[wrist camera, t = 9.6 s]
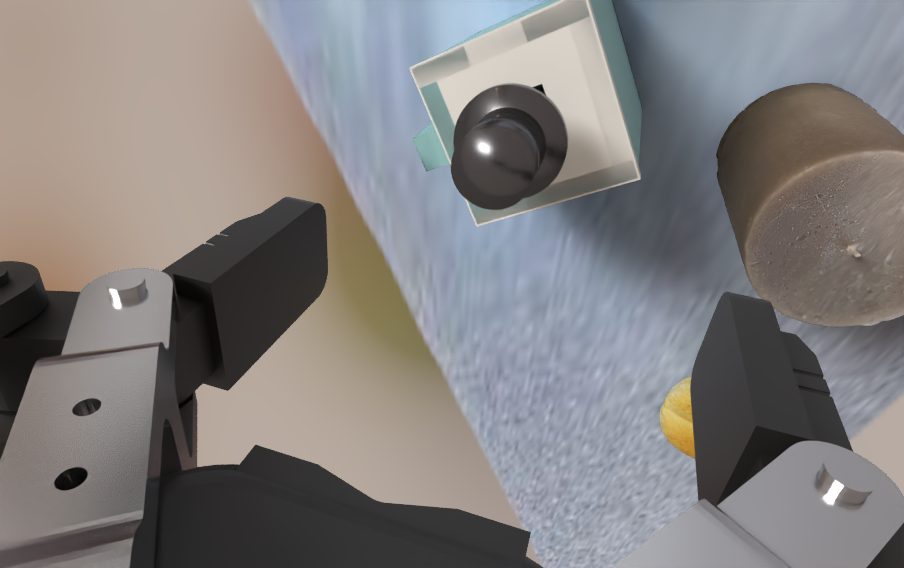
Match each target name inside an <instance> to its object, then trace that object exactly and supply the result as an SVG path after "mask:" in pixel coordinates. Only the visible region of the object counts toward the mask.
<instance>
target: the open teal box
mask: <svg viewBox="0 0 904 568" xmlns="http://www.w3.org/2000/svg"><path fill="white" fill-rule="evenodd" d="M409 69H410V71H411V74H412V76H413V78H414V81H415V83H416V85H417V88H418V90H419V92H420V95H421V97H422V99H423V102H424V104H425V106H426V109H427V111H428V113H429V116H430V118H431V121H432V123H431V124H430V125H429V126H427V127H426V128H425V129H424V130H423V131H422V132H420V133H419V134H418V135H417V136H416V137H414V138H413V139H412V140H413V142H414V145H415V147H416V149H417V151H418V154H419V156H420V158H421V160H422V163H423V165H424V167H425V169H426V171H429V170H432V169H435V168H438V167H441V166H443V165H446V164H449V163H450V165H451V160H452V156H453V153H454V144H453V139H454V130H455V126H456V122H457V120H458V118H459V115H460V113H461V112H462V110H463V109H464V107H465V106H466V105H467V104H468V103H469V102H470V101H471V100H472V99H473V98H474V97H475V96H476V95H478V94H479V93H481V92H482V91H484V90H485V89H488V88H490V87H492V86H495V85H499V84H505V83H516V84H523V85H527V86H530V87H535V86H537V85H540V84H542V85H543V88H544V91H545V94H546V96H547V97H549V98H550V99H551V100H552V101H553V102H554V104H555V105H556V106H557V108H558V109H559V110H560V112H561V114H562V116H563V118H564V121H565V123H566V127H567V131H568V150H567V155H566V158H565V161H564V164H563V166H562V168H561V171H560V172H559V174H558V176H557V177H556V178H555V180H554V181H553V182H552V183H551V184H550V185H549V186H548V187H547V188H545V189H544V190H542V191H541V192H539V193H537V194H535V195H533V196H530V197H527V198H523V199H521V200H520V201H519V202H518V203H517V204H515V205H513V206H511V207H509V208H506V209H501V210H489V209H484V208H480V207H478V206H476V205H474V204H472V203H471V202H469V201H468V200H467V199H465V200H466V203H467V205H468V207H469V210H470V212H471V215H472V217H473V219H474V222H475V224H476V226H480V225H484V224H487V223H491V222H494V221H498V220H501V219H505V218H508V217H512V216H515V215H518V214H522V213H525V212H529V211H532V210H536V209H539V208H543V207H546V206H550V205H553V204H557V203H560V202H564V201H567V200H571V199H574V198H578V197H581V196H585V195H588V194H592V193H595V192H599V191H602V190H606V189H609V188H613V187H616V186H620V185H623V184H627V183H630V182H634V181H637V180H641V172H640V169H639V156H640V139H641V122H642V106H641V103H640V99H639V96H638V92H637V88H636V85H635V81H634V78H633V74H632V70H631V67H630V63H629V60H628V56H627V53H626V49H625V45H624V42H623V38H622V35H621V31H620V27H619V24H618V20H617V17H616V13H615V10H614V6H613V2H612V0H549V1H547V2H544V3H542V4H540V5H538V6H536V7H533V8H531V9H529V10H527V11H524V12H522V13H520V14H518V15H516V16H513V17H511V18H509V19H507V20H504V21H502V22H500V23H498V24H496V25H493V26H491V27H489V28H487V29H484V30H482V31H480V32H478V33H476V34H475V35H473V36H471V37H469V38H467V39H465V40H464V41H462V42H460V43H458V44H456V45H455V46H453V47H451V48H449V49H447V50H446V51H444V52H442V53H440V54H438V55H436V56H434V57H432V58H430V59H427V60H425V61H423V62H421V63H419V64H416V65H414V66H412V67H410V68H409Z"/></svg>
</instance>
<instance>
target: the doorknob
mask: <svg viewBox="0 0 904 568" xmlns="http://www.w3.org/2000/svg"><path fill="white" fill-rule="evenodd" d="M453 144H454V153H453V156H452V160H451V174H452V178H453V181H454V184H455V186H456V188H457V189H458V191H459V192H460V193H461V194H462V196H463V197H464V198H465V199H467V200H468V201H469V202H471V203H472V204H474V205H476V206H478V207H480V208H484V209H489V210H501V209H506V208H509V207H511V206H513V205H515V204H517V203H518V202H519V201H520V200H521V199H523V198H527V197H530V196H533V195H535V194H537V193H539V192H541V191H542V190H544V189H545V188H547V187H548V186H549V185H550V184H551V183H552V182H553V181H554V180H555V178H556V177H557V176H558V174H559V172H560V171H561V168H562V166H563V164H564V161H565V158H566V155H567V150H568V131H567V127H566V123H565V121H564V118H563V116H562V114H561V112H560V110H559V109H558V108H557V106H556V105H555V104H554V102H553V101H552V100H551V99H550V98H549V97H547V96H546V94H545V91H544V88H543V85H542V84H540V85H537V86H535V87H530V86H527V85H523V84H516V83H505V84H499V85H495V86H492V87H490V88H488V89H485V90H484V91H482V92H481V93H479V94H478V95H476V96H475V97H474V98H473V99H472V100H471V101H470V102H469V103H468V104H467V105H466V106H465V107H464V109H463V110H462V112H461V113H460V115H459V118H458V120H457V122H456V126H455V130H454V139H453Z"/></svg>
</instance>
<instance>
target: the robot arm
mask: <svg viewBox="0 0 904 568" xmlns="http://www.w3.org/2000/svg"><path fill="white" fill-rule="evenodd" d="M326 231H327V230H326V213H325V210H324V207H323V206H322V205H321V204H319V203H314V202H309V201H305V200H300V199H296V198H291V197H285V198H283V199H281V200H280V201H279V202H277V203H276V204H274V205H273V206H271V207H270V208H268V209H267V210H265V211H264V212H262V213H261V214H257V215H254V216H251V217H248V218H246V219H242V220H239V221H237V222H235V223H234V224H232V225H231V226H229V227H227V228H226V229H224V230H223V231H222V232H220V235H215V236H214V237H212V238H211V239H209V240H208V241H206V244H202V245H200V246H199V247H197V248H196V249H194V250H193V251H191V252H190V253H188V254H186V255H185V256H183V257H182V258H181V259H179V260H177V261H176V262H174V263H173V264H171V265H170V266H168V267H167V268H165V269H164V270H162V271H159V270H154V269H148V268H132V269H124V270H120V271H115V272H111V273H108V274H105V275H103V276H100V277H98V278H96V279H94V280H93V281H91V282H90V283H88V284H87V285H86V286H85V287H84V288H83V289H82V290H81V292H67V291H45V288H44V285H43V282H42V279H41V277H40V273H39V271H38V269H37V268H36V267H34V266H33V265H31V264H27V263H23V262H15V261H5V262H4V261H3V262H0V568H543V567H542V566H540V565H539V564H537V563H536V562H534V561H533V560H531V559H529V558H528V557H526V551H527V547H528V543H529V538H530V533H531V532H528V531H525V530H522V529H519V528H515V527H512V526H509V525H506V524H503V523H499V522H497V521H493V520H490V519H487V518H483V517H481V516H478V515H475V514H471V513H468V512H465V511H462V510H459V509H450V508H439V507H427V506H416V505H404V504H392V503H383V502H379V501H376V500H374V499H372V498H370V497H368V496H367V495H365V494H363V493H362V492H360V491H359V490H357V489H356V488H354V487H353V486H351V485H349V484H348V483H346V482H345V481H343V480H342V479H340V478H338V477H337V476H335V475H333V474H332V473H330V472H329V471H327V470H326V469H324V468H322V467H321V466H319V465H318V464H314V463H311V462H308V461H305V460H302V459H298V458H295V457H292V456H289V455H286V454H283V453H280V452H277V451H273V450H270V449H267V448H264V447H261V446H258V445H255V446H254V447H253V449H252V450H251V451H250V452H249V454H248V455H247V456H246V458H245V459H244V460H243V461H242V462H241V464H240V465H234V464H232V465H231V464H230V465H211V466H203V467H197V399H196V393H195V390H196V389H197V388H198V387H199V386H200V385H202V384H203V383H204V384H207V385H210V386H214V387H217V388H221V389H224V390H227V391H228V390H229V389H230V388H231V387H232V386H233V385H234V384H235V383H236V382H237V381H238V380H239V379H240V378H241V377H242V376H243V375H244V374H245V373H246V372H247V371H248V370H249V369H250V368H251V366H252V365H253V364H254V363H255V362H256V361H257V360H258V359H259V358H260V357H261V356H262V355H263V354H264V353H265V352H266V351H267V350H268V349H269V348H270V347H271V346H272V345H273V344H274V342H275V341H276V340H277V339H278V338H279V337H280V336H281V335H282V334H283V333H284V332H285V331H286V330H287V329H288V328H289V327H290V326H291V325H292V324H293V323H294V321H296V320H297V319H298V318H299V316H300V315H301V314H302V313H303V312H304V311H305V310H306V309H307V308H308V307H309V306H310V305H311V304H312V303H313V302H314V301H315V300H316V299H317V298H318V297H319V295H320V294H321V292H322V290H323V288H324V286H325V283H326V279H327V274H328V258H327V232H326ZM823 376H824V375H823V373H822V370H821V368H820V365H819V362H818V360H817V357H816V355H815V354H814V353H813V352H812V351H811V350H810V349H809V348H808V347H807V346H806V345H805V344H804V342H803V341H802V340H801V339H800V338H799V337H798V336H797V335H795V334H791V333H786V332H782V331H780V328H779V325H778V322H777V319H776V315H775V312H774V309H773V306H772V304H771V302H770V301H767V300H762V299H758V298H753V297H748V296H744V295H739V294H734V293H730V292H725V293H724V294H723V295H722V296H721V298H720V300H719V302H718V304H717V307H716V309H715V312H714V314H713V317H712V320H711V322H710V325H709V327H708V330H707V332H706V335H705V337H704V340H703V342H702V345H701V347H700V350H699V352H698V355H697V358H696V360H695V364H694V367H693V371H692V377H691V385H690V394H691V407H692V421H693V434H694V447H695V460H696V474H697V487H698V500H699V501H698V502H696V503H695V504H694V505H692V506H691V507H690V508H688V509H687V510H686V511H684V512H683V513H682V514H681V515H679V516H678V517H677V518H675V519H674V520H673V521H672V522H670V523H669V524H668V525H666V526H665V527H664V528H663V529H661V530H660V531H659V532H657V533H656V534H655V535H653V536H652V537H651V538H650V539H648V540H647V541H646V542H644V543H643V544H642V545H641V546H639V547H638V548H637V549H635V550H634V551H633V552H632V553H630V554H629V555H628V556H626V557H625V558H624V559H623V560H621V561H620V562H619V563H617V564H616V565H615V566H613V567H612V568H904V496H903V495H902V493H901V491H900V490H899V488H898V487H897V486H896V485H895V483H894V482H893V481H892V480H891V479H890V478H889V477H888V476H887V475H886V474H885V473H884V472H883V471H882V470H880V469H879V468H878V467H877V466H875V465H874V464H872V463H871V462H870V461H868V460H867V459H865V458H863V457H862V456H860V455H858V454H856V453H854V452H853V450H852V447H851V445H850V442H849V440H848V437H847V435H846V432H845V429H844V427H843V424H842V422H841V419H840V417H839V414H838V411H837V409H836V406H835V404H834V401H833V398H832V397H829V395H830V391H829V388H828V386H827V383H826V380H824V379H823Z"/></svg>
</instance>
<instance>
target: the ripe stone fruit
mask: <svg viewBox="0 0 904 568" xmlns="http://www.w3.org/2000/svg"><path fill="white" fill-rule="evenodd" d="M691 377H692V376H690V377H687V378H685V379H683V380H681V381H679V382H678V383H677V384H676V385H675V386H674V387H673V388H672V389H671V390H670V391H669V392H668V394H667V396H666V398H665V401H664V404H663V405H662V407H661V410H660V424H661V430H662V432H663V433H664V435H665V437H666V438H667V440H668V441H669V442H670V443H671V444H672V445H673V446H675V447H676V448H677V449H678V450H680V451H681V452H683V453H685V454H686V455H688V456H690V457H692V458H695V447H694V434H693V421H692V407H691V394H690V385H691Z"/></svg>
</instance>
